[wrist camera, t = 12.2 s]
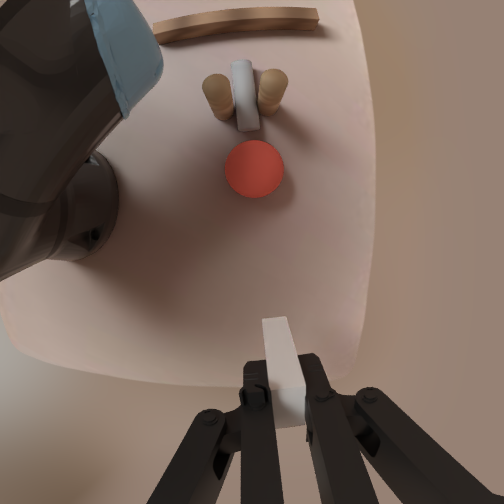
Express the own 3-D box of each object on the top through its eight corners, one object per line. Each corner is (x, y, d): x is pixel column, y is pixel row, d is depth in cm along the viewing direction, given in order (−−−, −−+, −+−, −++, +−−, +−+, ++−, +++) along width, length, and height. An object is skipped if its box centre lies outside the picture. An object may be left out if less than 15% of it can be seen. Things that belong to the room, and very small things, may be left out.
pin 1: (214, 121, 29) (203, 99, 20) (212, 103, 28) (201, 76, 20) (235, 119, 29) (231, 95, 20) (233, 100, 28) (228, 72, 20)
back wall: (159, 44, 26) (152, 34, 23) (159, 34, 25) (153, 23, 22) (314, 30, 25) (319, 19, 23) (311, 19, 25) (316, 8, 22)
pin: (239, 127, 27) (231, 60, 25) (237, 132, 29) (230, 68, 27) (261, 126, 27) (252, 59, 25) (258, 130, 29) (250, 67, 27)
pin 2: (257, 116, 29) (262, 92, 20) (255, 98, 28) (258, 69, 20) (278, 115, 28) (289, 91, 20) (276, 97, 28) (286, 68, 20)
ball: (221, 139, 28) (228, 189, 31) (220, 150, 23) (229, 210, 26) (276, 133, 28) (279, 183, 31) (287, 143, 23) (290, 203, 26)
